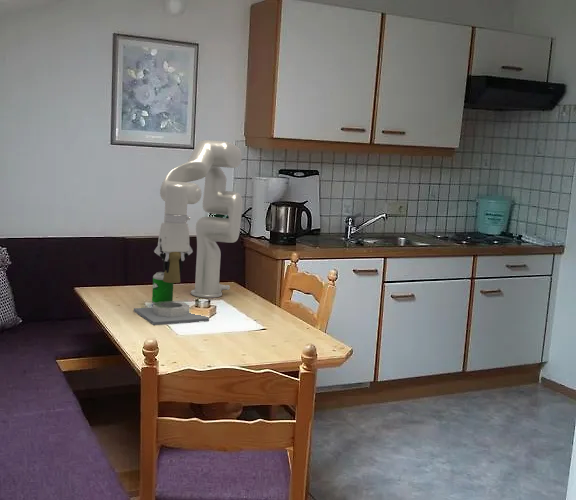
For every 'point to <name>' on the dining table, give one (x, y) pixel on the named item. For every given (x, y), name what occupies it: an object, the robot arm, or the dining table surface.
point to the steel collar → (171, 309)
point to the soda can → (161, 289)
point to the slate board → (159, 320)
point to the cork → (173, 268)
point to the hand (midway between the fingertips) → (172, 271)
